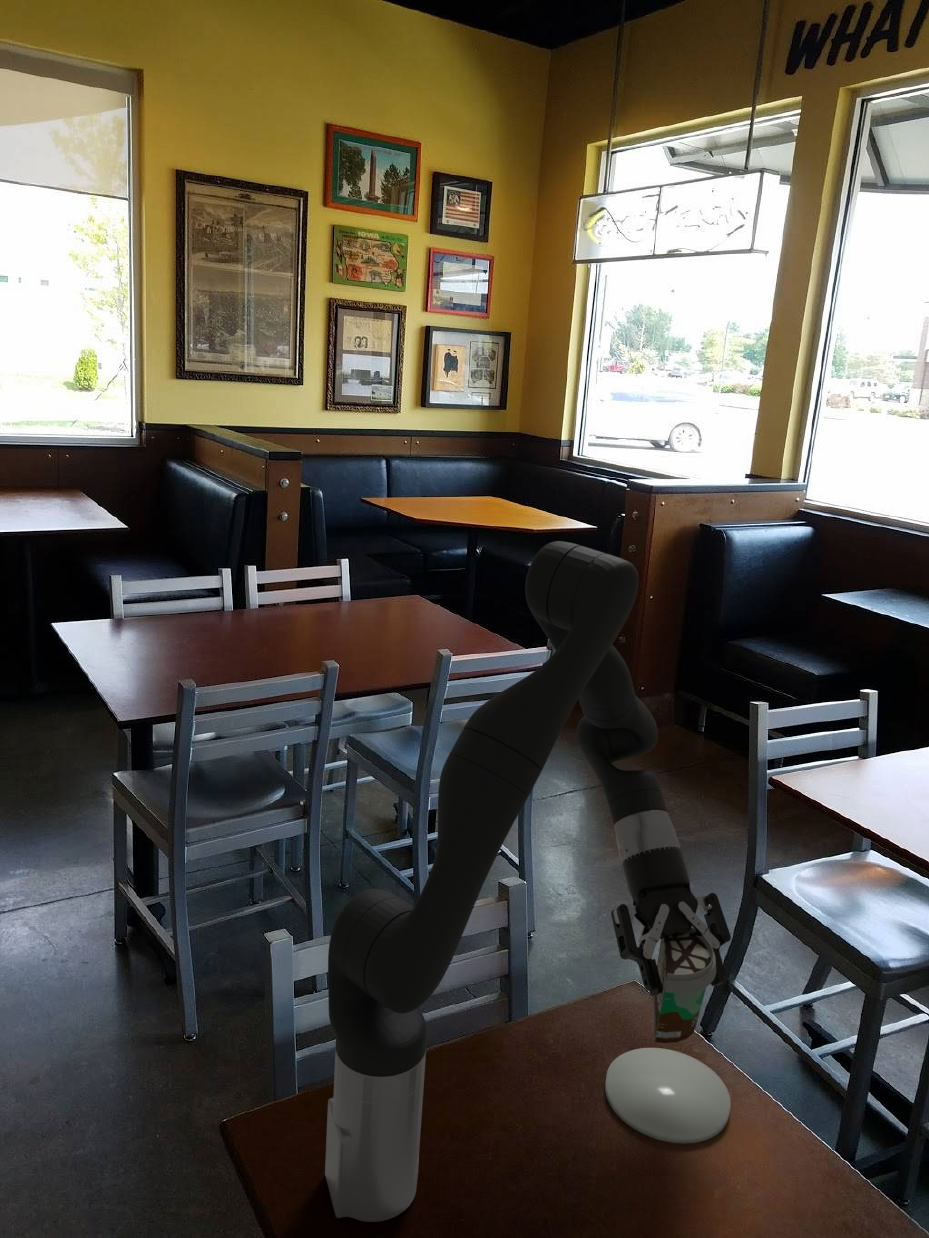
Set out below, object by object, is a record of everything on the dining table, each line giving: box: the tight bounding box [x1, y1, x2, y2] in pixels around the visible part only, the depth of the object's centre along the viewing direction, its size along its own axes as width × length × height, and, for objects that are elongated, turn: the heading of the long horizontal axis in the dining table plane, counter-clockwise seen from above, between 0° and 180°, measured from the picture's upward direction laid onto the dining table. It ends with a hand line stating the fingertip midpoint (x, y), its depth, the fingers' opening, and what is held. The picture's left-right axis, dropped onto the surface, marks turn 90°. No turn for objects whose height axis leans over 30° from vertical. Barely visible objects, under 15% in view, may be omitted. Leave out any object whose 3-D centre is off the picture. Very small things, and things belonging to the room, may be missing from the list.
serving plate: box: [604, 1047, 732, 1145], centre depth 119 cm, size 15×15×1 cm
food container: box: [653, 927, 716, 1044], centre depth 116 cm, size 12×6×10 cm, turn 171°
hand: (688, 989), depth 114 cm, fingers closed on food container, 8 cm apart
